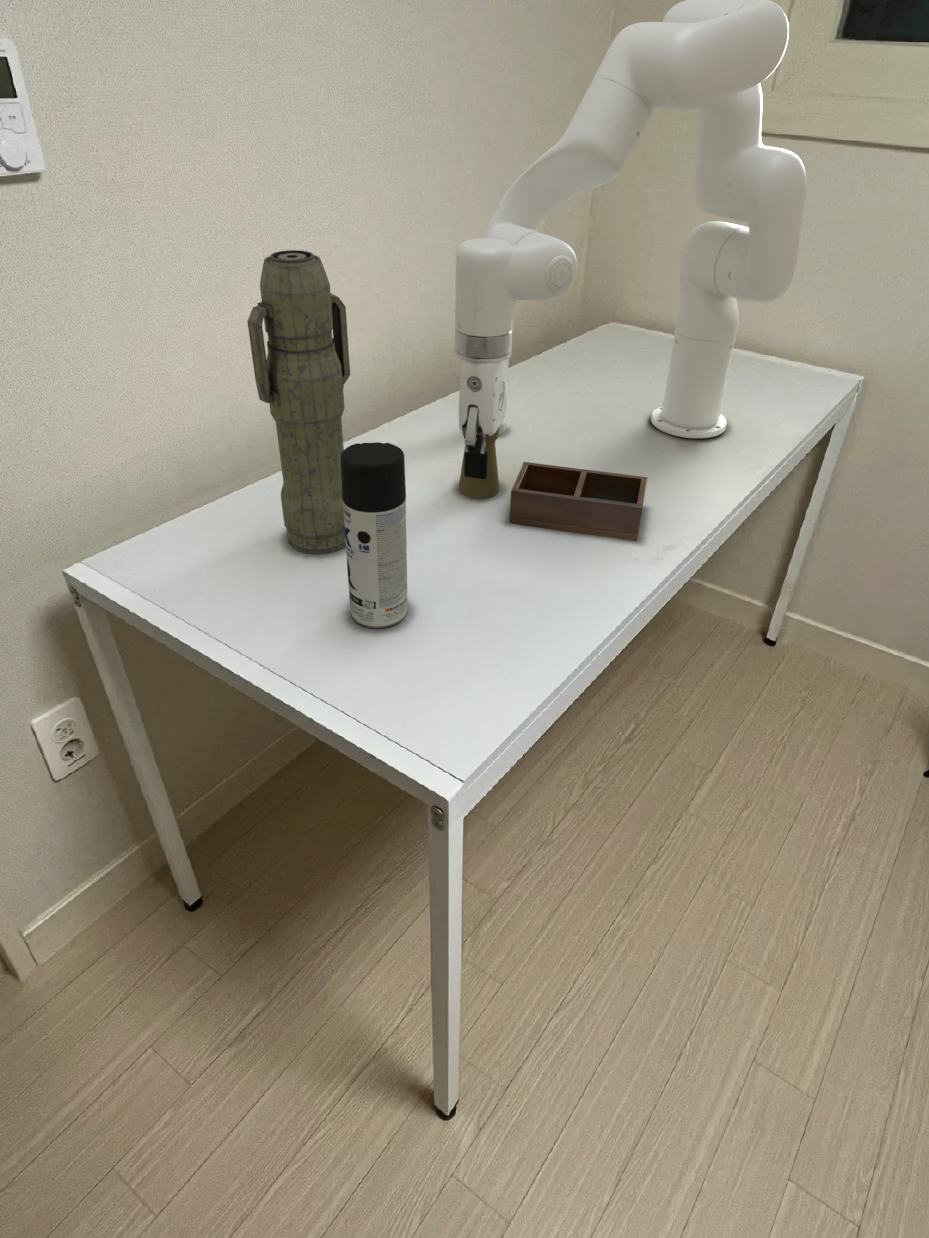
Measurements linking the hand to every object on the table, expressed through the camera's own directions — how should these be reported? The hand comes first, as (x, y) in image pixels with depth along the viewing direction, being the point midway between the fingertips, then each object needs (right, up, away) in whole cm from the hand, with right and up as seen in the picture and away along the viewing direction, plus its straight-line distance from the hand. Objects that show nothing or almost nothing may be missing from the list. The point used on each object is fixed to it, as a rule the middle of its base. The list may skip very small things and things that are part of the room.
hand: (479, 468), depth 119 cm
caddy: (+14, -7, -4) cm, 16 cm away
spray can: (-12, -21, -23) cm, 33 cm away
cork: (0, -3, +2) cm, 3 cm away
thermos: (-21, -11, -10) cm, 26 cm away
